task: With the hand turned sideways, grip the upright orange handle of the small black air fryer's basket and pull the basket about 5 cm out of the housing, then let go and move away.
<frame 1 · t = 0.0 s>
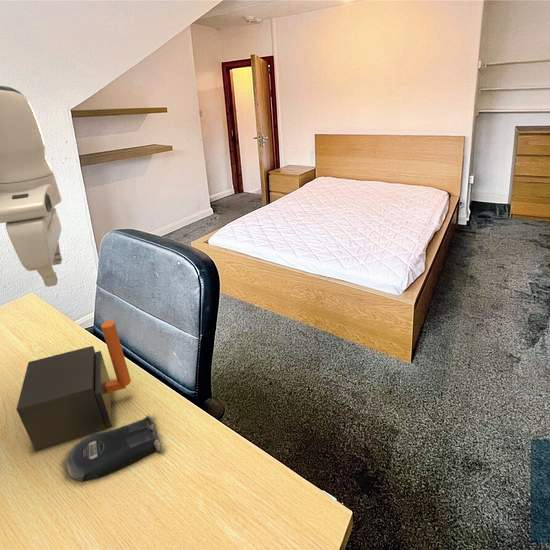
hand: (54, 273, 71), 30 cm above the table, tool pointing down, fingers open, 8 cm apart
air fryer: (75, 417, 81), on the table
electronic device: (115, 455, 73), on the table
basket: (81, 372, 78), point 10 cm above the table, slide at 0.0 cm
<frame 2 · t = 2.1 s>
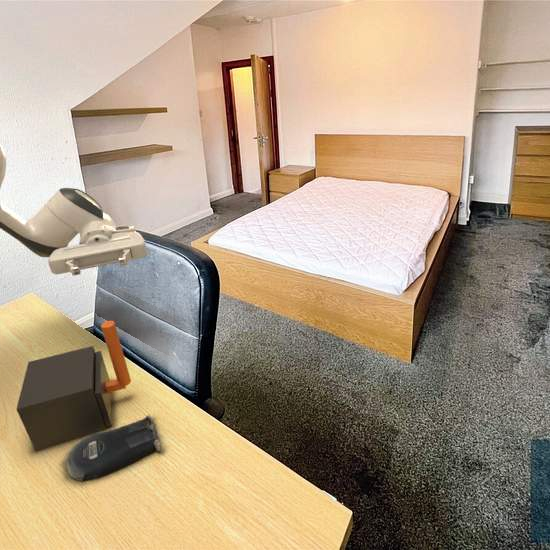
hand: (99, 267, 85), 25 cm above the table, tool horizontal, fingers open, 8 cm apart
nothing on the table moved.
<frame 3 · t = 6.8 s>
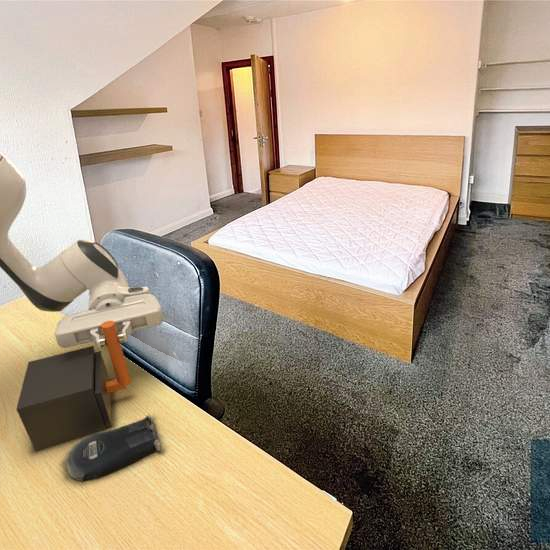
hand: (112, 341, 77), 16 cm above the table, tool horizontal, fingers closed on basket, 2 cm apart
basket: (81, 372, 78), point 10 cm above the table, slide at 0.0 cm, touching gripper
everything else where it was.
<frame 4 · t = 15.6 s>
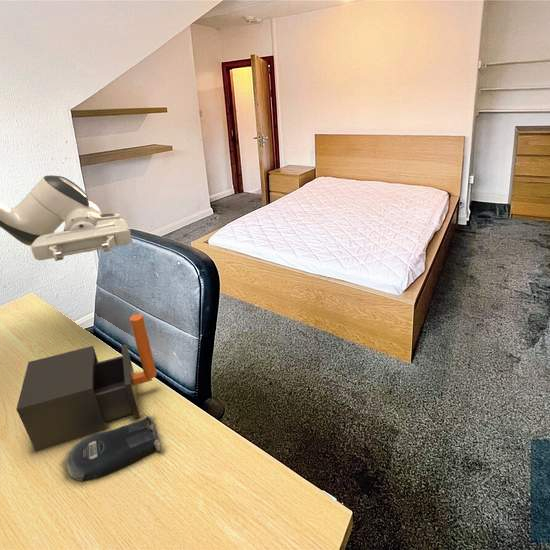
hand: (82, 252, 85), 28 cm above the table, tool horizontal, fingers open, 8 cm apart
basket: (109, 364, 79), point 10 cm above the table, slide at 5.1 cm
everything else where it was.
at the end: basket slide at 5.1 cm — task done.
